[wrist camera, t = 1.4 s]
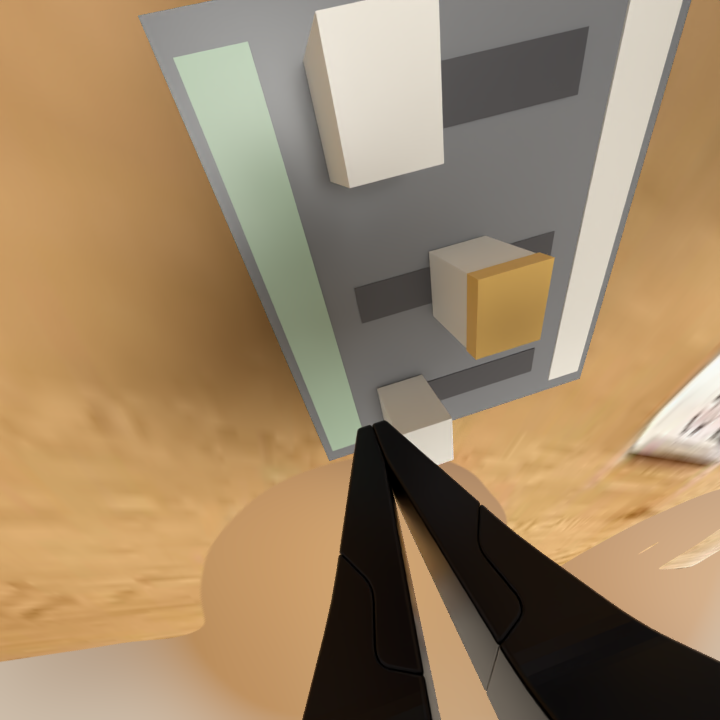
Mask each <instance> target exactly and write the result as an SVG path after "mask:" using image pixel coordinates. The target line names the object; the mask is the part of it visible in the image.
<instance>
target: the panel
mask: <svg viewBox="0 0 720 720" xmlns="http://www.w3.org/2000/svg"><path fill="white" fill-rule="evenodd" d="M359 1H364V0H212V1H207V2H202V3H198V4H193V5H188V6H183V7H178V8H173V9H168V10H164V11H159V12H154V13H149V14H144V15H139V16H138V17H139V19H140V22H141V24H142V26H143V29H144V31H145V33H146V36H147V38H148V40H149V43H150V45H151V47H152V50H153V52H154V54H155V57H156V59H157V61H158V64H159V66H160V68H161V71H162V73H163V75H164V78H165V80H166V82H167V85H168V87H169V89H170V91H171V94H172V96H173V98H174V101H175V103H176V105H177V108H178V110H179V112H180V115H181V117H182V119H183V122H184V124H185V126H186V129H187V131H188V133H189V136H190V138H191V140H192V143H193V145H194V147H195V150H196V152H197V154H198V157H199V159H200V161H201V164H202V166H203V168H204V171H205V173H206V175H207V178H208V180H209V182H210V184H211V187H212V189H213V191H214V194H215V196H216V198H217V201H218V203H219V205H220V208H221V210H222V212H223V215H224V217H225V219H226V222H227V224H228V226H229V229H230V231H231V233H232V236H233V238H234V240H235V243H236V245H237V247H238V250H239V252H240V254H241V257H242V259H243V261H244V264H245V266H246V268H247V271H248V273H249V275H250V277H251V280H252V282H253V284H254V287H255V289H256V291H257V294H258V296H259V298H260V301H261V303H262V305H263V308H264V310H265V312H266V315H267V317H268V319H269V322H270V324H271V326H272V329H273V331H274V333H275V336H276V338H277V340H278V343H279V345H280V347H281V350H282V352H283V354H284V357H285V359H286V361H287V364H288V366H289V368H290V370H291V373H292V375H293V377H294V380H295V382H296V384H297V387H298V389H299V391H300V394H301V396H302V398H303V401H304V403H305V405H306V408H307V410H308V412H309V415H310V417H311V419H312V422H313V424H314V426H315V429H316V431H317V433H318V436H319V438H320V440H321V443H322V445H323V447H324V450H325V452H326V454H327V457H328V459H329V461H331V460H334V459H337V458H340V457H343V456H346V455H349V454H352V453H354V449H355V442H356V436H357V430H358V429H359V428H361V427H364V426H367V425H371V426H372V425H373V424H374V423H376V422H379V421H382V420H384V418H383V413H382V409H381V404H380V400H379V395H378V391H377V389H378V388H381V387H384V386H387V385H390V384H394V383H397V382H400V381H403V380H406V379H410V378H413V377H416V376H419V375H423V377H424V378H425V380H426V381H427V383H428V384H429V385H430V387H431V388H432V390H433V391H434V393H435V394H436V396H437V397H438V399H439V400H440V401H441V403H442V404H443V406H444V407H445V409H446V410H447V412H448V413H449V415H450V416H451V417H452V420H455V419H458V418H461V417H464V416H467V415H470V414H473V413H477V412H480V411H483V410H486V409H489V408H492V407H495V406H498V405H501V404H504V403H507V402H510V401H513V400H516V399H519V398H522V397H525V396H528V395H531V394H534V393H537V392H540V391H543V390H546V389H549V388H552V387H555V386H558V385H561V384H564V383H567V382H571V381H574V380H577V379H580V376H581V372H582V369H583V366H584V362H585V359H586V355H587V352H588V349H589V345H590V342H591V338H592V335H593V332H594V328H595V325H596V321H597V318H598V315H599V311H600V308H601V305H602V301H603V298H604V294H605V291H606V288H607V284H608V281H609V277H610V274H611V271H612V267H613V264H614V261H615V257H616V254H617V250H618V247H619V244H620V240H621V237H622V233H623V230H624V227H625V223H626V220H627V216H628V213H629V210H630V206H631V203H632V200H633V196H634V193H635V189H636V186H637V183H638V179H639V176H640V172H641V169H642V166H643V162H644V159H645V156H646V152H647V149H648V145H649V142H650V139H651V135H652V132H653V128H654V125H655V122H656V118H657V115H658V111H659V108H660V105H661V101H662V98H663V95H664V91H665V88H666V84H667V81H668V78H669V74H670V71H671V67H672V64H673V61H674V57H675V54H676V51H677V47H678V44H679V40H680V37H681V34H682V30H683V27H684V23H685V20H686V17H687V13H688V10H689V6H690V3H691V0H439V19H440V51H441V82H442V114H443V145H444V164H441V165H437V166H433V167H429V168H425V169H421V170H418V171H414V172H410V173H406V174H402V175H399V176H395V177H391V178H387V179H383V180H379V181H376V182H372V183H368V184H364V185H360V186H357V187H353V188H348V187H345V186H342V185H339V184H336V183H333V182H330V178H329V173H328V169H327V165H326V160H325V156H324V151H323V147H322V142H321V138H320V133H319V129H318V125H317V120H316V116H315V111H314V107H313V102H312V98H311V94H310V89H309V85H308V80H307V76H306V71H305V67H304V62H303V58H304V54H305V50H306V46H307V43H308V39H309V35H310V31H311V27H312V23H313V19H314V15H315V11H317V10H322V9H327V8H331V7H336V6H341V5H345V4H350V3H355V2H359ZM482 236H488V237H491V238H494V239H496V240H499V241H502V242H505V243H508V244H511V245H514V246H517V247H520V248H523V249H525V250H528V251H531V252H534V253H539V252H540V253H543V254H546V255H549V256H552V257H555V259H554V264H553V270H552V275H551V281H550V287H549V292H548V298H547V304H546V309H545V315H544V321H543V326H542V332H541V337H540V340H537V341H534V342H531V343H528V344H525V345H521V346H518V347H515V348H512V349H509V350H506V351H502V352H499V353H496V354H493V355H490V356H487V357H483V358H480V359H477V360H475V359H474V358H473V357H472V356H471V355H470V354H469V353H468V352H467V351H466V347H464V346H463V345H462V344H461V343H460V342H459V341H458V340H457V339H456V338H455V337H454V336H453V335H452V334H451V333H450V332H449V331H448V330H447V329H446V328H445V327H444V326H443V325H442V324H441V323H440V322H439V321H438V320H437V319H436V318H435V317H434V316H433V305H432V290H431V275H430V260H429V251H433V250H437V249H440V248H444V247H447V246H451V245H454V244H458V243H461V242H465V241H468V240H472V239H475V238H479V237H482Z"/></svg>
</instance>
